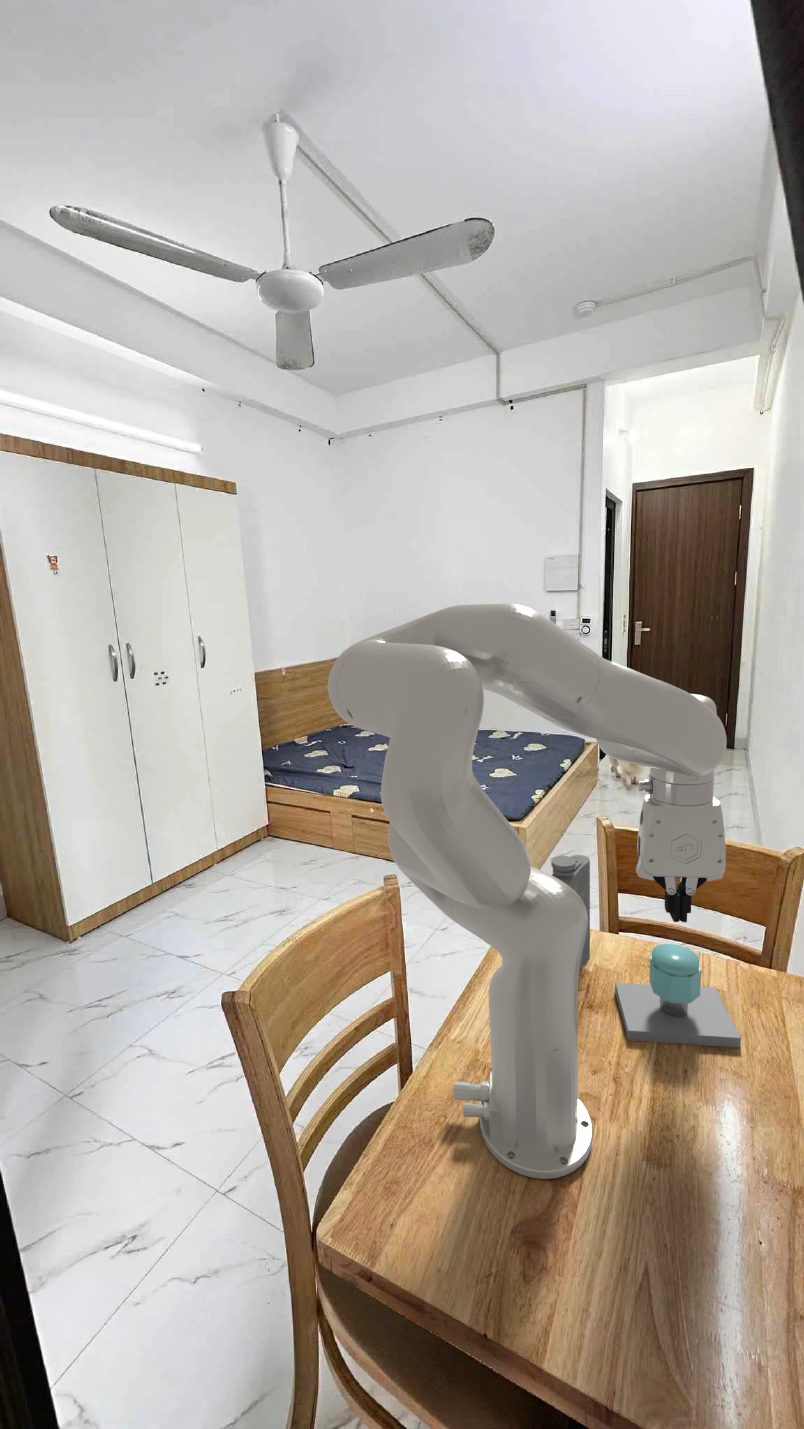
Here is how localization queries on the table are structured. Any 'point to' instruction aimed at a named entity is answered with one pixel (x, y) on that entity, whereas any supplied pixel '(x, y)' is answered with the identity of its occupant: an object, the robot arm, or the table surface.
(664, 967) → the cap
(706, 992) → the stud base
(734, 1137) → the table surface
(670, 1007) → the steel stud
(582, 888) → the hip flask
